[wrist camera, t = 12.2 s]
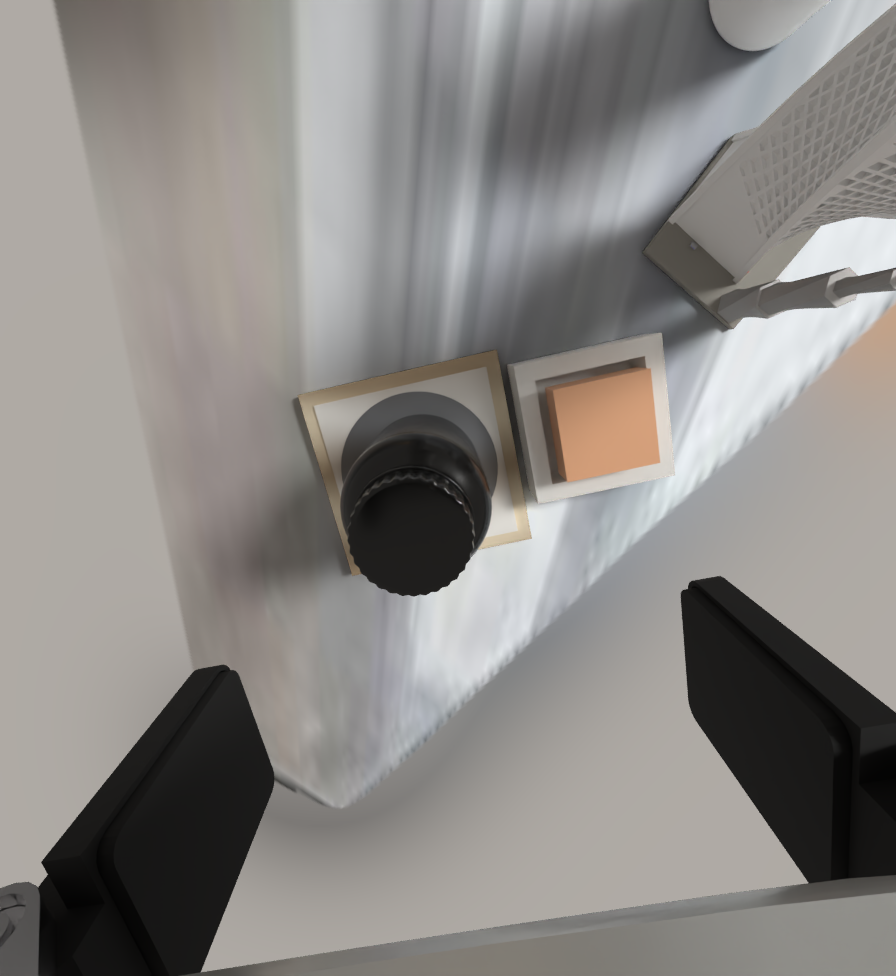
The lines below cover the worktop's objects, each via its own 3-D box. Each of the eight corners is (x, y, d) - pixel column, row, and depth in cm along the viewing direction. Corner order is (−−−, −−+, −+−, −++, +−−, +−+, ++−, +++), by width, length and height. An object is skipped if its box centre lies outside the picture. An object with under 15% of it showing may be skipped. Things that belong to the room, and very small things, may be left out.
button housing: (506, 364, 29) (513, 366, 26) (639, 334, 28) (661, 332, 25) (529, 489, 31) (538, 504, 28) (653, 463, 30) (675, 475, 27)
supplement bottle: (500, 483, 29) (537, 568, 18) (408, 539, 30) (387, 654, 19) (439, 388, 28) (437, 413, 16) (344, 450, 29) (279, 516, 17)
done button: (544, 387, 26) (552, 390, 24) (635, 367, 26) (650, 368, 24) (558, 473, 28) (567, 482, 26) (644, 455, 27) (660, 462, 25)
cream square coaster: (301, 394, 29) (296, 395, 28) (495, 349, 28) (497, 349, 27) (354, 570, 32) (351, 577, 31) (529, 534, 32) (532, 540, 30)
